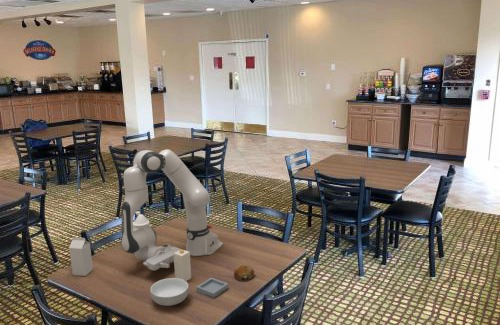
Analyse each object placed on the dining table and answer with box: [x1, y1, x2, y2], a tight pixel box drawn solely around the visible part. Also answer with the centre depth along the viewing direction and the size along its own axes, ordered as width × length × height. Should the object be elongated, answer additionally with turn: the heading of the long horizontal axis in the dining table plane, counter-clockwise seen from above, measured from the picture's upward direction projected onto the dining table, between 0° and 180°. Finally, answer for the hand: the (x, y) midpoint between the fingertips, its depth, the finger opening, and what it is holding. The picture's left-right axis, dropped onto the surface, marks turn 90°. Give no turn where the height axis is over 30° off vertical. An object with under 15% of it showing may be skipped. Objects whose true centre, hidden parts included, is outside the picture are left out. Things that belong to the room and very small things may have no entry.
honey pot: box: [133, 210, 152, 231], centre depth 254 cm, size 13×13×18 cm
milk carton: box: [68, 237, 94, 277], centre depth 216 cm, size 7×7×19 cm
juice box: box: [173, 248, 192, 282], centre depth 207 cm, size 6×6×15 cm
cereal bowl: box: [149, 277, 189, 307], centre depth 189 cm, size 17×17×7 cm
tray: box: [195, 277, 229, 299], centre depth 197 cm, size 10×10×2 cm
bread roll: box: [233, 263, 255, 282], centre depth 210 cm, size 10×10×8 cm
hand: (175, 262), depth 210 cm, fingers open, 8 cm apart
